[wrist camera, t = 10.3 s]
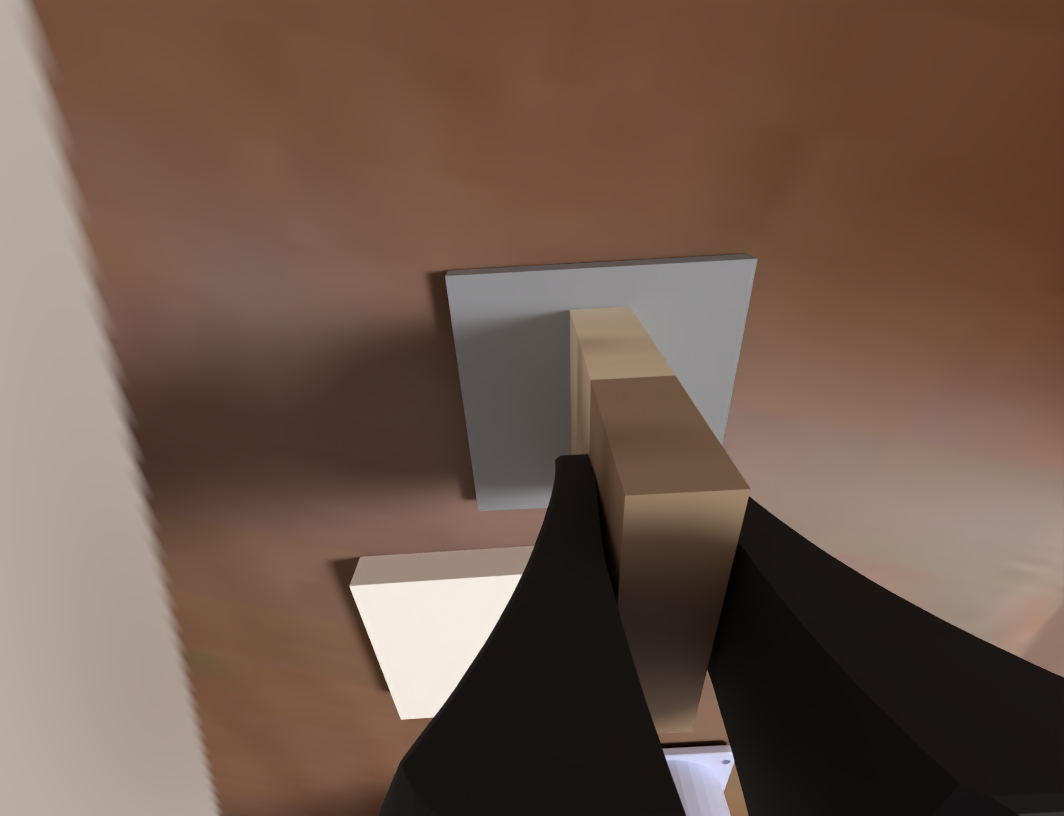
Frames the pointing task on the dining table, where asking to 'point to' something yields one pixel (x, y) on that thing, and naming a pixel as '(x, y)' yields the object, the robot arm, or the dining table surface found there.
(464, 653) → the tile
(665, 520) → the stepped beige block
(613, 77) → the dining table surface
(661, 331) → the mat
